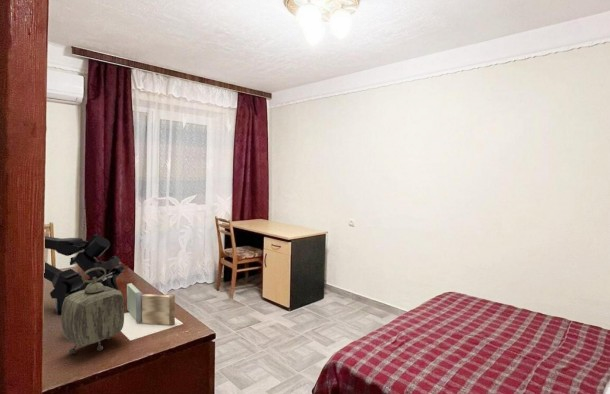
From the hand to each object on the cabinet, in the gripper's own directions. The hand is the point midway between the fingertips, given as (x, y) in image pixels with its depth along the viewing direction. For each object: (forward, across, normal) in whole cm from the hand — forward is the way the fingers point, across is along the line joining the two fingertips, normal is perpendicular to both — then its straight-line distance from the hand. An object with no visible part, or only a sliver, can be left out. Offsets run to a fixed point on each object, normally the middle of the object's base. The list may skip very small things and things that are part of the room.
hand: (118, 295), depth 128 cm
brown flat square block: (+18, -7, -9) cm, 21 cm away
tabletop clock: (+11, -25, -1) cm, 27 cm away
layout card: (+14, -5, -4) cm, 16 cm away
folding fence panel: (+10, -3, -1) cm, 10 cm away
